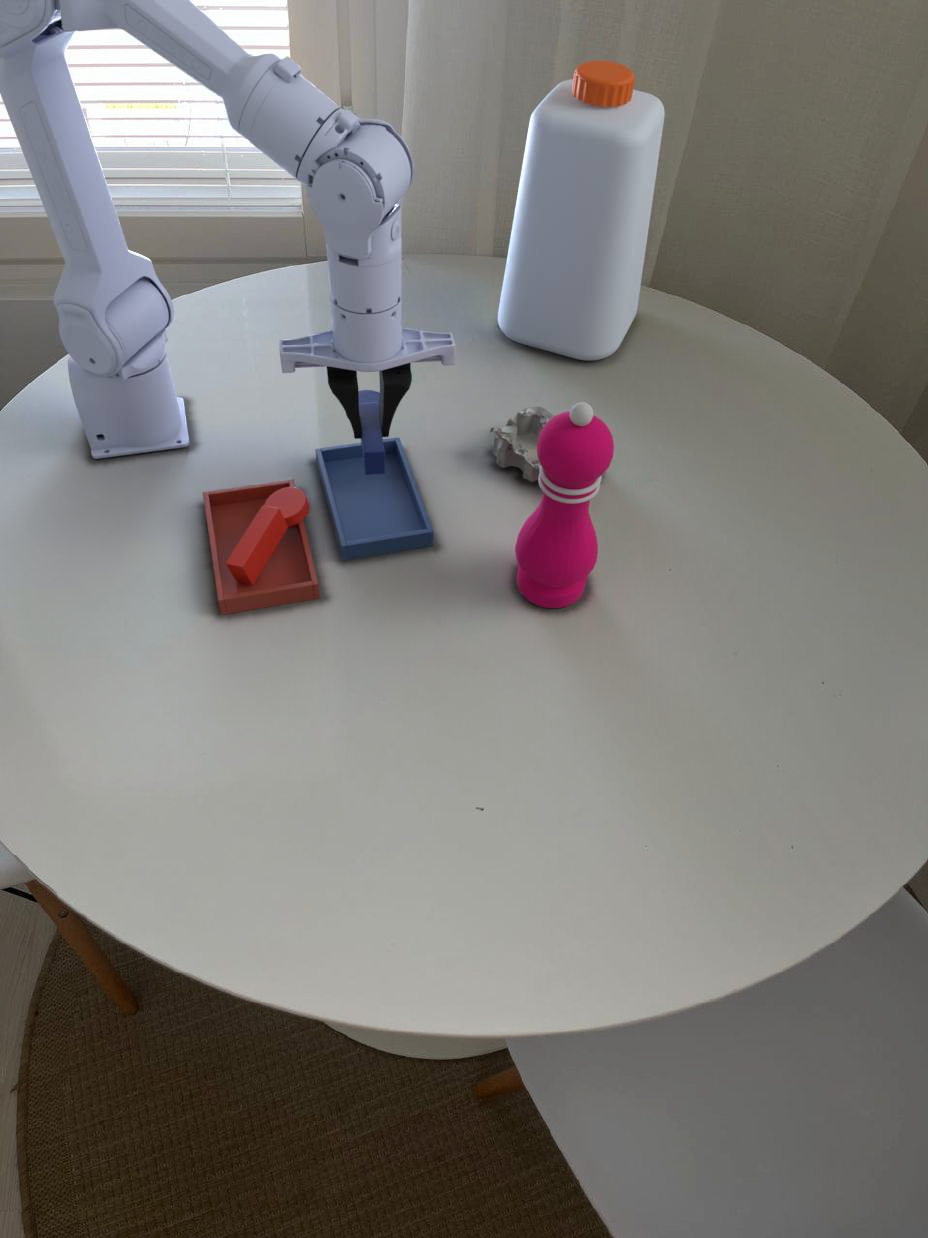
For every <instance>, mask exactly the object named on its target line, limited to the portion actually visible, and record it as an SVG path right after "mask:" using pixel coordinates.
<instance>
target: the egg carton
mask: <svg viewBox="0 0 928 1238" xmlns="http://www.w3.org/2000/svg"><path fill="white" fill-rule="evenodd" d="M554 416H555V415H554V414H552V413H551V412H550V411H549V410H547V409H546V408H544V407H541V406H532V407H526V408H523V409H522V410H521V411H518V412H517V413H516V415H515V416H514V417H512V418H509V419H508V421H507V422H506V424H505V426H504V427H502V428H501V425H497V426H496V427H491V428H490V430H489V433H493V434H494V440H493V448H492V454H493V455H494V457H496V461H495V462H496V464H497V466H499V467H500V468H502V469H503V468H507V467H516V468H519V469H520V470H521V472H522V479H524V480H527V481H529V482H532V483H534V482H536V481H538V477H539V474H540V466H541V464H540V462H539V459H538V457H537V442H538V438H539V435H540V432H541V430H542V429H543V427H544V426H545V424H546V423H547V422H548V421H549V420H550V419H551V418H553V417H554Z"/></svg>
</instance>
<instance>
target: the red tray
mask: <svg viewBox="0 0 928 1238" xmlns="http://www.w3.org/2000/svg"><path fill="white" fill-rule="evenodd" d="M287 487H295V488H296V484H295V480H294V479H293V478H290V479H283V480H278V481H270V482H263V483H256V484H251V485H250V484H249V485H244V486H243V485H242V486H237V487H236V486H235V487H230V488H221V489H215V490H207V491H202V497H203V504H204V511H205V519H206V526H207V531H208V533H207V534H208V539H209V546H210V554H211V560H212V567H213V573H214V574H213V575H214V582H215V589H216V594H217V602H218V606H219V611H220V615H221V616H224V615H229V614H235V613H242V612H248V611H253V610H258V609H264V608H271V607H276V606H283V605H287V604H292V603H298V602H304V601H311V600H317V599H320V598H321V596H320V586H319V580H318V577H317V572H316V567H315V564H314V560H313V556H312V551H311V547H310V542H309V538H308V534H307V530H306V526H305V522H304V519H303V520H302V521H301V522H300V523H298V524H296V525H293V526H290V527H288V529H287V530H286V532H285V534H284V535H283V537H282V539H281V540H280V542H279V543H278V545H277V547H276V548H275V550H274V552H273V553H272V555H271V556H270V558H269V560H268V561H267V563H266V565H265V566H264V568H263V570H262V571H261V573H260V574H259V576H258V578H257V579H256V581H255V583H254V584H253V585H249V584H245V583H240V582H236V580H235V579H234V577H233V575H232V574H231V572H230V570H229V569H228V567H227V565H226V562H227V560H228V559H229V557H230V556H231V554H232V552H233V551H234V549H235V548H236V546H237V545H238V543H239V542H240V540H241V538H242V537H243V535H244V534H245V532H246V531H247V529H248V527H249V526H250V524H251V523H252V521H253V520H254V518H255V517H256V515H257V513H258V512H259V510H260V509H261V507H262V506H263V505H264V506H265V502H266V500H267V499H268V497H269V496H270V495H271V494H273V493H274V492H276V491H277V490H280V489H282V488H287Z"/></svg>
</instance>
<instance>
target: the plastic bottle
mask: <svg viewBox="0 0 928 1238" xmlns="http://www.w3.org/2000/svg"><path fill="white" fill-rule="evenodd" d="M635 82H636V77H635V74H634V72H633V71H632V69H630V68H629V67H628V66H626V65H623V64H621V63H618V62H614V61H607V60H591V61H585V62H583V63H581V64H580V65H578V66H577V67H576V68H575V70H574V72H573V77H572V78H570V79H566V80H563V81H561V82H559V83H558V84H557V85H555V87H554V88H553V89H551V90H550V92H549V93H548V94H546V96H544V98H543V99H542V100H541V101H540V103H539V104H538V105H537V106H536V107H535V109H534V110H533V111H532V113H531V115H530V118H529V124H528V129H527V136H526V141H525V147H524V154H523V160H522V165H521V172H520V177H519V184H518V190H517V191H518V192H517V197H516V202H515V208H514V214H513V220H512V227H511V233H510V239H509V245H508V249H507V250H508V251H507V256H506V262H505V263H506V264H505V269H504V274H503V280H502V281H503V282H502V286H501V294H500V300H499V304H498V305H499V306H498V310H497V311H498V312H497V325H498V326H499V328H500V331H501V332H502V334H504V335H505V337H507V338H508V339H510V340H512V341H513V342H515V343H518V344H521V345H524V346H529V347H532V348H535V349H539V350H541V351H542V350H543V351H546V352H549V353H552V354H557V355H561V356H564V357H567V358H572V359H574V360H575V359H576V360H579V361H587V362H588V361H598V360H602V359H606V358H608V357H610V356H612V355H613V354H614V353H615V352H616V351H617V350H618V349H619V348H620V346H621V344H622V342H623V341H624V338H625V336H626V334H627V333H628V331H629V329H630V327H631V325H632V323H633V322H634V320H635V318H636V316H637V312H638V305H639V299H640V293H641V285H642V278H643V272H644V271H643V270H644V265H645V259H646V258H645V257H646V249H647V245H648V244H647V242H648V237H649V236H648V235H649V229H650V222H651V215H652V208H653V201H654V193H655V186H656V180H657V172H658V167H659V166H658V165H659V159H660V151H661V143H662V136H663V130H664V122H665V117H666V116H665V115H666V112H665V107H664V104H663V102H662V101H661V99H660V98H658V97H656V96H655V95H653V94H652V93H648V92H645V91H642V90H641V91H640V90H636V89H634V86H635Z"/></svg>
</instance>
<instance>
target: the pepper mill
mask: <svg viewBox="0 0 928 1238" xmlns="http://www.w3.org/2000/svg"><path fill="white" fill-rule="evenodd" d="M614 451H615V443H614V437H613V434H612V432H611V430H610V428H609V427H608V425H607V424H606V422H605V421H603V420H602V419H601V418H599V417H598V416H596V415H595V414H594V410H593V408H592V406H591V405H590V404H589V403H587V402H584V401H580V402H577V403H575V404H573V405H572V407H571V408H570V410H568V411H564V412H561V413H558V414H555V415H554V417H553V418H551V419H550V420H549V421H548V422H547V423H546V424H545V426H544V427H543V429H542V430H541V432H540V435H539V438H538V442H537V457H538V459H539V462H540V464H541V466H540V474H539V477H538V480H537V481H538V486H539V488H540V490H541V491H542V495H541V501H540V502H539V504H538V506H537V507H536V508H535V510H533V512H532V513H531V514H530V515H529V517H527V519H526V520H525V522H524V523H523V524H522V527H521V528H520V529H519V531H518V534H517V539H516V542H515V547H514V549H515V550H514V552H515V558H516V561H517V564H518V565H517V566H518V567H517V572H516V585H517V588H518V590H519V592H520V594H521V595H522V596H523V598H525V599H526V600H528V602H530V603H532V604H534V605H536V606H538V607H543V608H545V609H560V608H566V607H569V606H571V605H573V604H575V603H576V602H577V601H578V600H579V599H580V598H581V597H582V596H583V594H584V592H585V588H586V583H587V580H588V579H587V578H588V576H589V575H590V574H591V573H592V572H593V570H594V568H595V566H596V564H597V561H598V553H599V552H598V551H599V544H598V543H599V542H598V538H597V537H598V536H597V531H596V530H595V527H594V523H593V521H592V519H591V515H590V501H591V500H592V499H593V498H594V497H596V496H597V494H598V493H599V491H600V487H601V482H602V478H603V477H602V476H603V475H604V473H606V471H607V470H608V469H609V468H610V466H611V464H612V460H613V458H614Z"/></svg>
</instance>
